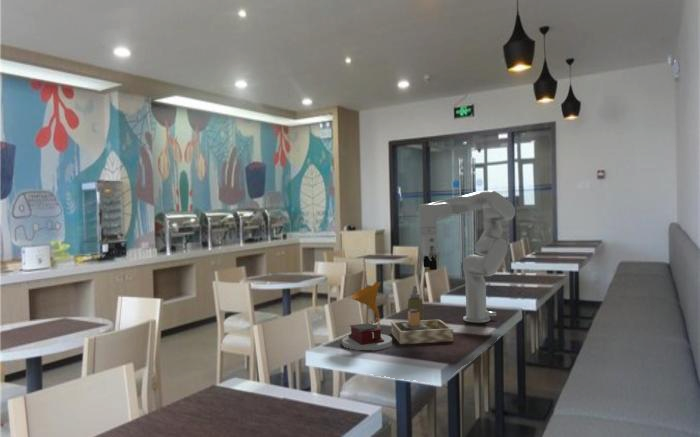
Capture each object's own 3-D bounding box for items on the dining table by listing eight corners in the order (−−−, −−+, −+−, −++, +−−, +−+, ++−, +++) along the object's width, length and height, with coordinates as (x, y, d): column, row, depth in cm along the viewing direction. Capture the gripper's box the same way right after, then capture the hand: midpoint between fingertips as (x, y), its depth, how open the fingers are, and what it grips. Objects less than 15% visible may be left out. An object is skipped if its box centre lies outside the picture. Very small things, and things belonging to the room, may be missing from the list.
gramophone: (379, 335, 212) (377, 278, 212) (401, 346, 193) (399, 284, 193) (335, 341, 205) (333, 281, 205) (353, 353, 186) (351, 288, 186)
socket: (421, 332, 211) (421, 322, 211) (427, 337, 202) (427, 326, 202) (401, 333, 210) (401, 323, 210) (406, 338, 201) (406, 328, 201)
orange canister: (417, 334, 209) (416, 308, 208) (420, 336, 205) (419, 310, 204) (408, 334, 208) (407, 309, 208) (410, 337, 204) (410, 311, 204)
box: (440, 330, 217) (439, 319, 217) (453, 341, 199) (452, 328, 199) (391, 333, 214) (391, 322, 214) (400, 344, 197) (400, 331, 196)
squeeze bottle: (424, 321, 236) (422, 284, 235) (424, 325, 228) (423, 287, 227) (407, 321, 236) (406, 284, 236) (407, 325, 228) (406, 287, 228)
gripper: (442, 231, 213) (444, 270, 213) (430, 229, 230) (432, 265, 231) (425, 232, 212) (427, 271, 213) (415, 230, 229) (417, 266, 230)
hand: (430, 268), depth 222 cm, fingers open, 9 cm apart
